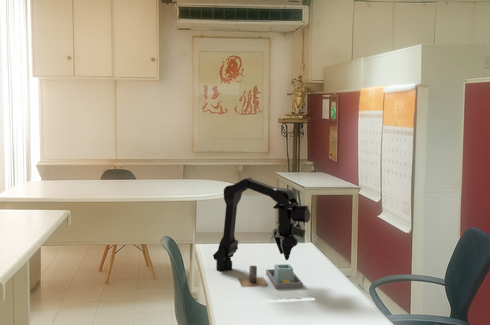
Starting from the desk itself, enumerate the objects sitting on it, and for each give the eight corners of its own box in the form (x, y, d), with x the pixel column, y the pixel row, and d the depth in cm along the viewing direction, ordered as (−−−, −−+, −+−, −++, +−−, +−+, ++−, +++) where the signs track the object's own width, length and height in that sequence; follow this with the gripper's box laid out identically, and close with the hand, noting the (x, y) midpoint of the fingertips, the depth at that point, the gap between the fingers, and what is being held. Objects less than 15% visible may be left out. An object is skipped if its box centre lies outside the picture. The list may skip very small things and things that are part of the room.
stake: (241, 289, 199) (242, 271, 199) (237, 280, 210) (238, 263, 209) (268, 288, 201) (268, 270, 200) (263, 279, 212) (263, 262, 211)
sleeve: (294, 284, 203) (294, 270, 203) (278, 285, 202) (279, 270, 202) (289, 277, 211) (289, 264, 211) (274, 278, 210) (274, 264, 210)
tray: (275, 291, 198) (275, 284, 197) (265, 276, 216) (266, 269, 216) (302, 290, 199) (302, 282, 199) (290, 275, 218) (290, 268, 218)
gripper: (310, 224, 197) (309, 262, 199) (297, 215, 216) (297, 250, 217) (282, 224, 196) (282, 263, 197) (272, 215, 214) (272, 251, 215)
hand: (284, 256), depth 207 cm, fingers open, 9 cm apart
